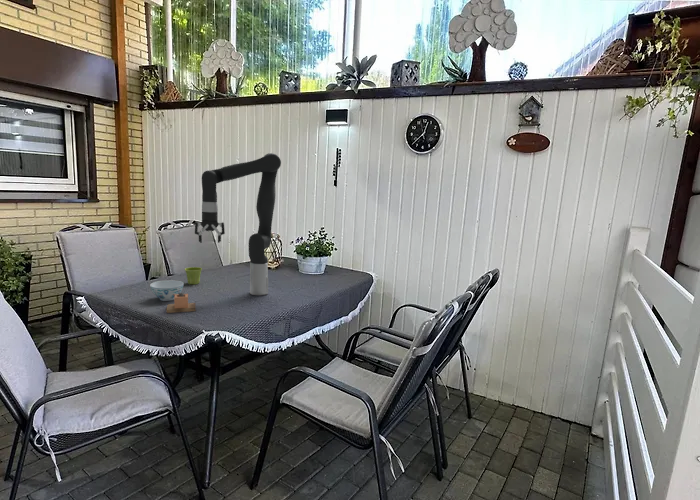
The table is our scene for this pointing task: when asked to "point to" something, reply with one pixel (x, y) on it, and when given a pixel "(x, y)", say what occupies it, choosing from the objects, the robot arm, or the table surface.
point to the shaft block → (190, 308)
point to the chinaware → (166, 289)
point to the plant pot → (193, 275)
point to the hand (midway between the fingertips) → (209, 242)
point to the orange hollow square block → (181, 301)
